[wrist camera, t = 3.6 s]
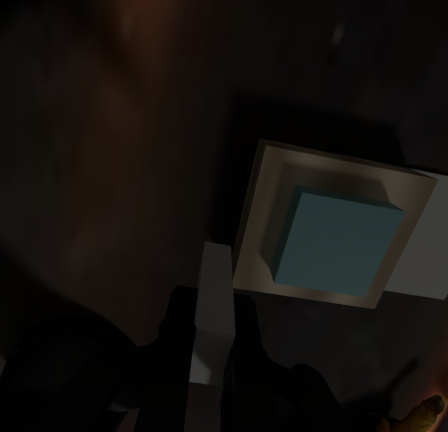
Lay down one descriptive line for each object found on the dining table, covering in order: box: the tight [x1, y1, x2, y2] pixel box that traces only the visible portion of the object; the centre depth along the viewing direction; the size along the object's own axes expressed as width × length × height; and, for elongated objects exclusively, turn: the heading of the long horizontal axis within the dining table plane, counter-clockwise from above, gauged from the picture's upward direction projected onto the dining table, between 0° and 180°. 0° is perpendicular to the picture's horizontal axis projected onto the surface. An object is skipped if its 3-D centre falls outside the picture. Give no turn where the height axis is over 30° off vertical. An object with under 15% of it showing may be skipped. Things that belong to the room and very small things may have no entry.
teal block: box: [270, 185, 405, 297], centre depth 23 cm, size 8×8×2 cm
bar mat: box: [384, 168, 448, 300], centre depth 29 cm, size 10×13×1 cm
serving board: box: [231, 138, 439, 309], centre depth 26 cm, size 14×13×4 cm
